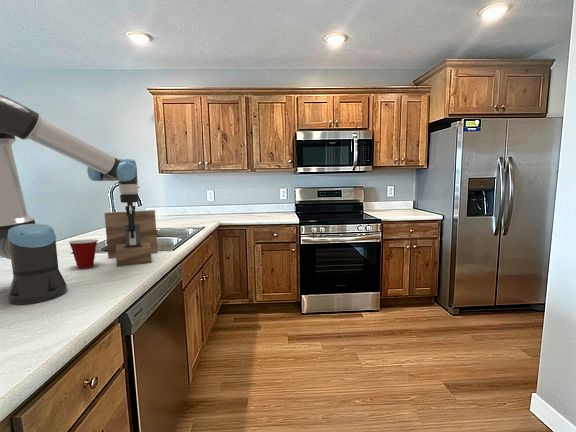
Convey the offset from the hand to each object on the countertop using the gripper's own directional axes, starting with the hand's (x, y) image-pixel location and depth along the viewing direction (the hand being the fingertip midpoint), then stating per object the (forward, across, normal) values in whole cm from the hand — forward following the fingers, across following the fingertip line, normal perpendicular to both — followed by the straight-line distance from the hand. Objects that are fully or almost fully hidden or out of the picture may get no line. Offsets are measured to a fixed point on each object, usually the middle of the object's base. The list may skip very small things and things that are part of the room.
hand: (133, 244), depth 143 cm
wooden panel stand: (+8, +3, 0) cm, 9 cm away
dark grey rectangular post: (+3, 0, 0) cm, 3 cm away
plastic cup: (+8, 0, +19) cm, 21 cm away
